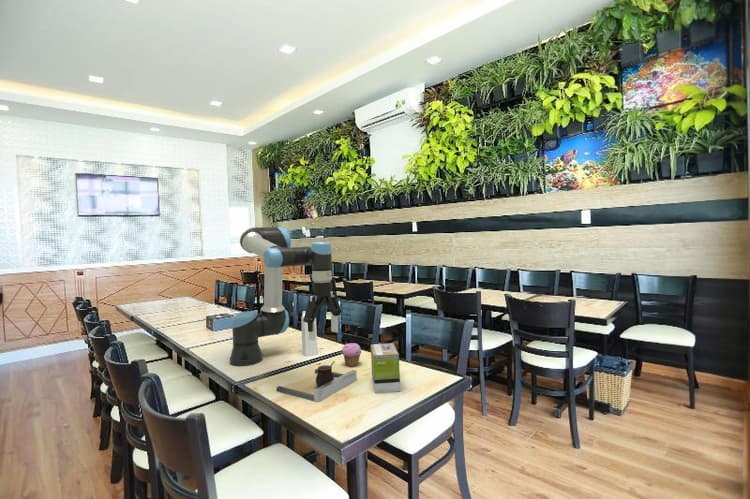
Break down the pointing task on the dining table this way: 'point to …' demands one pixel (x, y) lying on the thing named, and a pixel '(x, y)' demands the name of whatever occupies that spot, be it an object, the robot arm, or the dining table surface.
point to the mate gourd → (324, 375)
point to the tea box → (385, 368)
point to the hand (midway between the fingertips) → (323, 335)
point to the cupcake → (351, 353)
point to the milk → (308, 345)
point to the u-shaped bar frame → (324, 386)
